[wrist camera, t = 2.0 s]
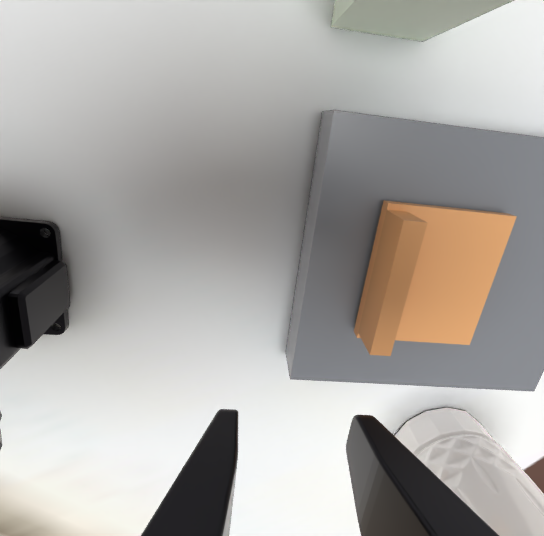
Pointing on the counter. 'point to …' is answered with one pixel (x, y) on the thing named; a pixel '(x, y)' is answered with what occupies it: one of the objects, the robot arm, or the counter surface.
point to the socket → (361, 234)
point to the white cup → (476, 470)
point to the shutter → (429, 274)
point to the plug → (408, 16)
